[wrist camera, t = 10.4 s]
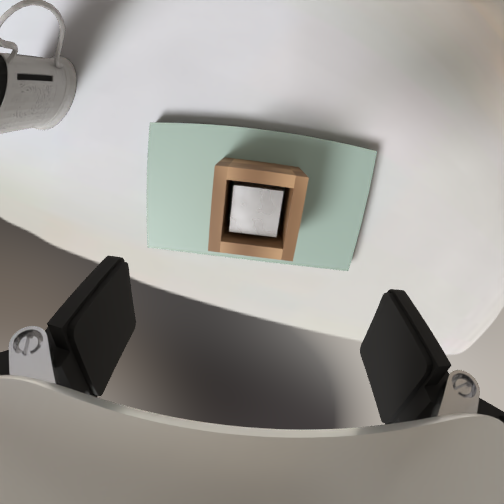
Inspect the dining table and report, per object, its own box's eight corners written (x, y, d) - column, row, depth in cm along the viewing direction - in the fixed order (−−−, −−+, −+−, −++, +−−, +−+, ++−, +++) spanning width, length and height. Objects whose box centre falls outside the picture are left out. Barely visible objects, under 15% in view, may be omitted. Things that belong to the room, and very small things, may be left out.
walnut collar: (299, 167, 23) (308, 177, 19) (287, 236, 26) (292, 261, 21) (223, 157, 23) (214, 165, 18) (217, 227, 26) (207, 251, 21)
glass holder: (16, 94, 20) (-78, 108, 7) (96, 8, 17) (3, -32, 3) (40, 145, 23) (-63, 179, 10) (128, 57, 20) (20, 22, 6)
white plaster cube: (279, 180, 24) (283, 191, 20) (273, 220, 25) (276, 237, 22) (237, 175, 24) (233, 185, 20) (233, 215, 25) (229, 231, 21)
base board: (371, 149, 23) (376, 151, 22) (344, 264, 29) (348, 271, 27) (155, 122, 23) (149, 122, 22) (152, 241, 28) (147, 247, 27)
